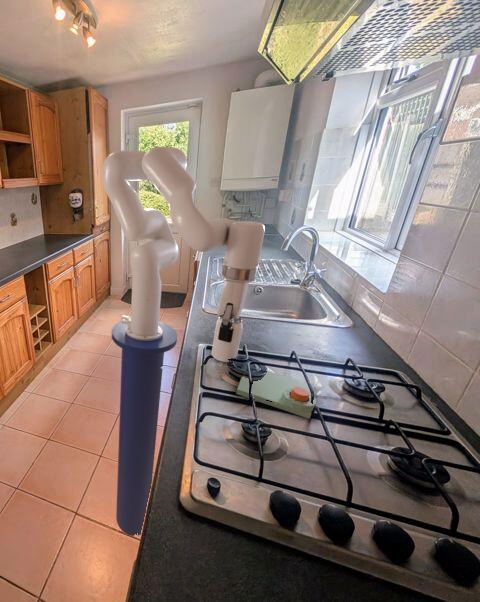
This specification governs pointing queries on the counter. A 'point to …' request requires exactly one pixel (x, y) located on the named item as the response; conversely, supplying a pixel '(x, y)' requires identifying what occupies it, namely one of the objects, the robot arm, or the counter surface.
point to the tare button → (300, 394)
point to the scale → (278, 393)
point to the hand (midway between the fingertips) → (227, 334)
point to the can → (226, 349)
